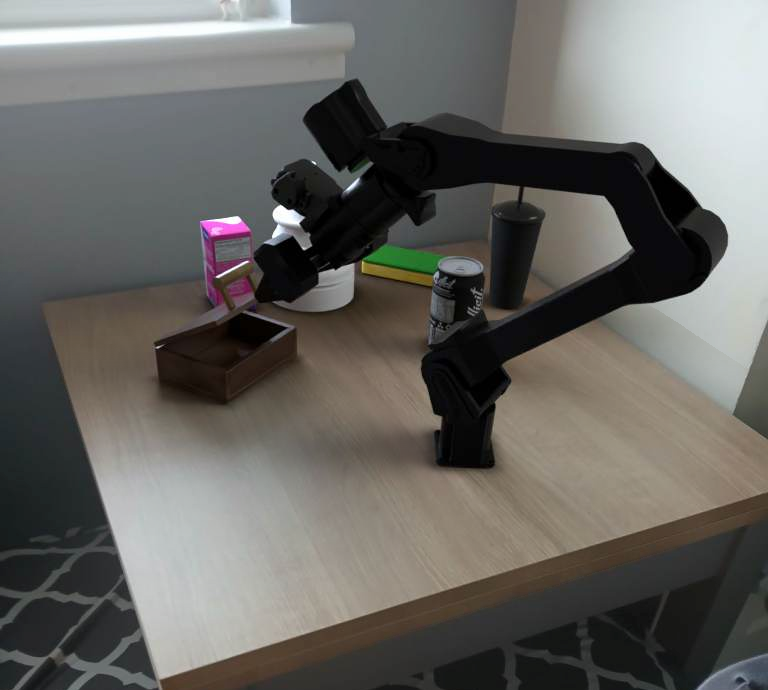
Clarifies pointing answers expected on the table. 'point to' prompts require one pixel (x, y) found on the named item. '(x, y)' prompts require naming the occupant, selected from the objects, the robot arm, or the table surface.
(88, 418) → the table surface
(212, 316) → the lid
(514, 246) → the drinking cup
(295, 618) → the table surface
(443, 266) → the beverage can
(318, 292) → the honey pot
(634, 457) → the table surface
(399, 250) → the dish sponge
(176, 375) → the tea box
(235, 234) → the supplement box
